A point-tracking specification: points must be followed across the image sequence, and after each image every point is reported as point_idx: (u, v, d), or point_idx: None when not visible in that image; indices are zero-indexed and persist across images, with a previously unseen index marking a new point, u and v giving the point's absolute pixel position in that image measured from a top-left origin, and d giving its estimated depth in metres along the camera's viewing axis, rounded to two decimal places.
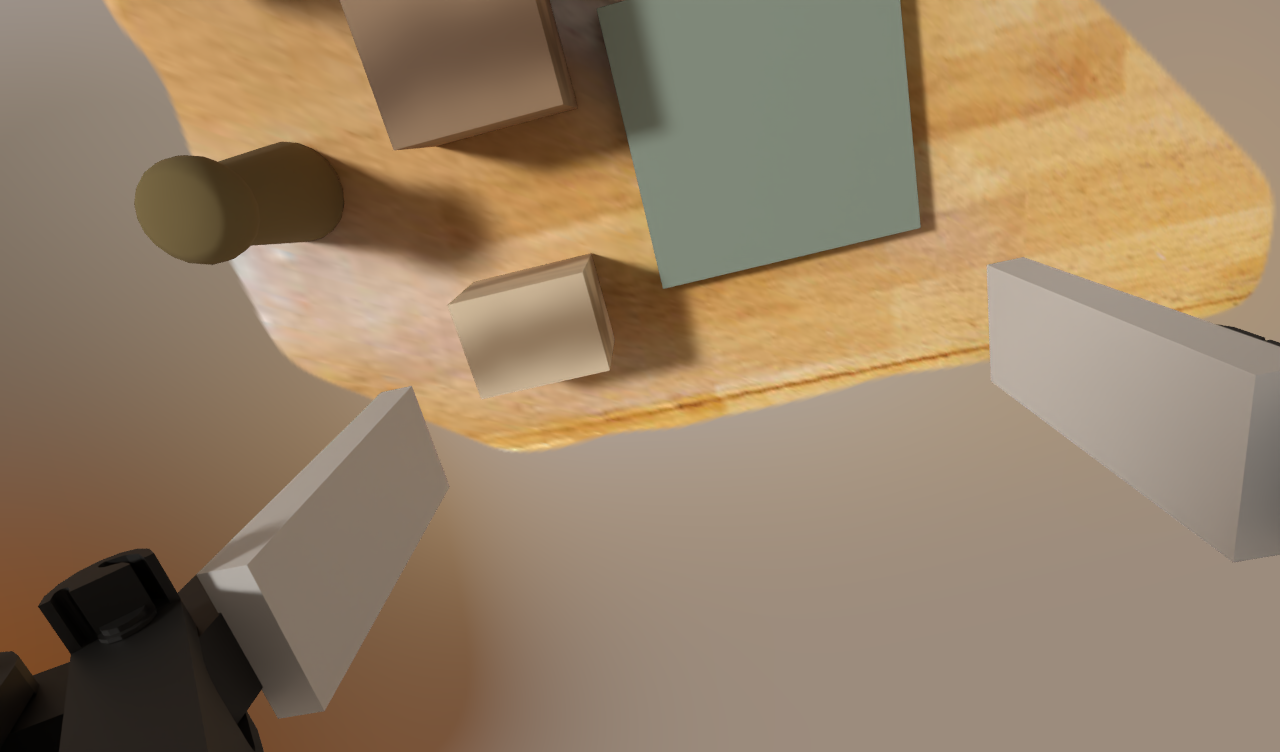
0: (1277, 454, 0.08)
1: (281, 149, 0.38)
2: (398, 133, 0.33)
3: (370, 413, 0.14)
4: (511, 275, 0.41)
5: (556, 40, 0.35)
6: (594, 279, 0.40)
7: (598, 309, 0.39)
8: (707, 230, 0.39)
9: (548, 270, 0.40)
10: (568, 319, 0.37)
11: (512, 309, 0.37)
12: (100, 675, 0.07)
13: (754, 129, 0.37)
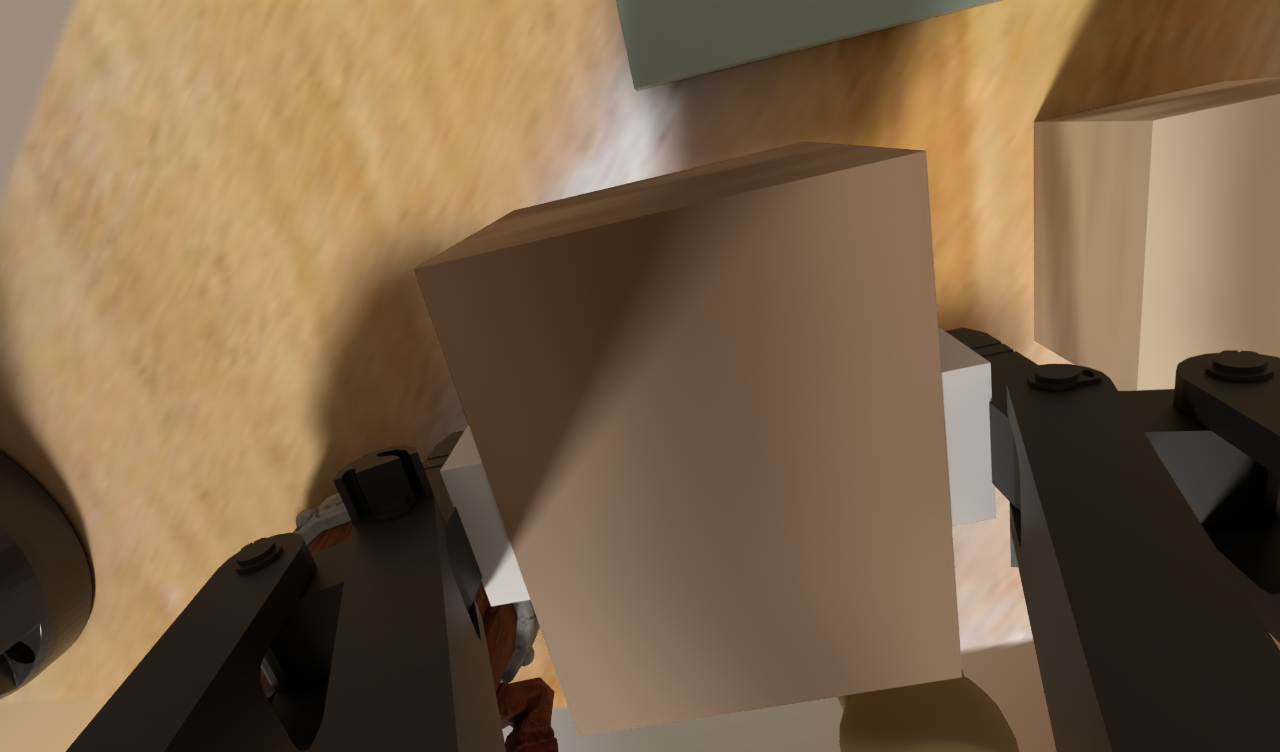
0: (968, 437, 0.10)
1: None
2: (919, 660, 0.11)
3: None
4: (1050, 275, 0.23)
5: (659, 183, 0.13)
6: (1110, 111, 0.20)
7: (1205, 98, 0.18)
8: None
9: (1075, 203, 0.21)
10: (1248, 160, 0.17)
11: (1185, 280, 0.18)
12: (372, 547, 0.09)
13: None
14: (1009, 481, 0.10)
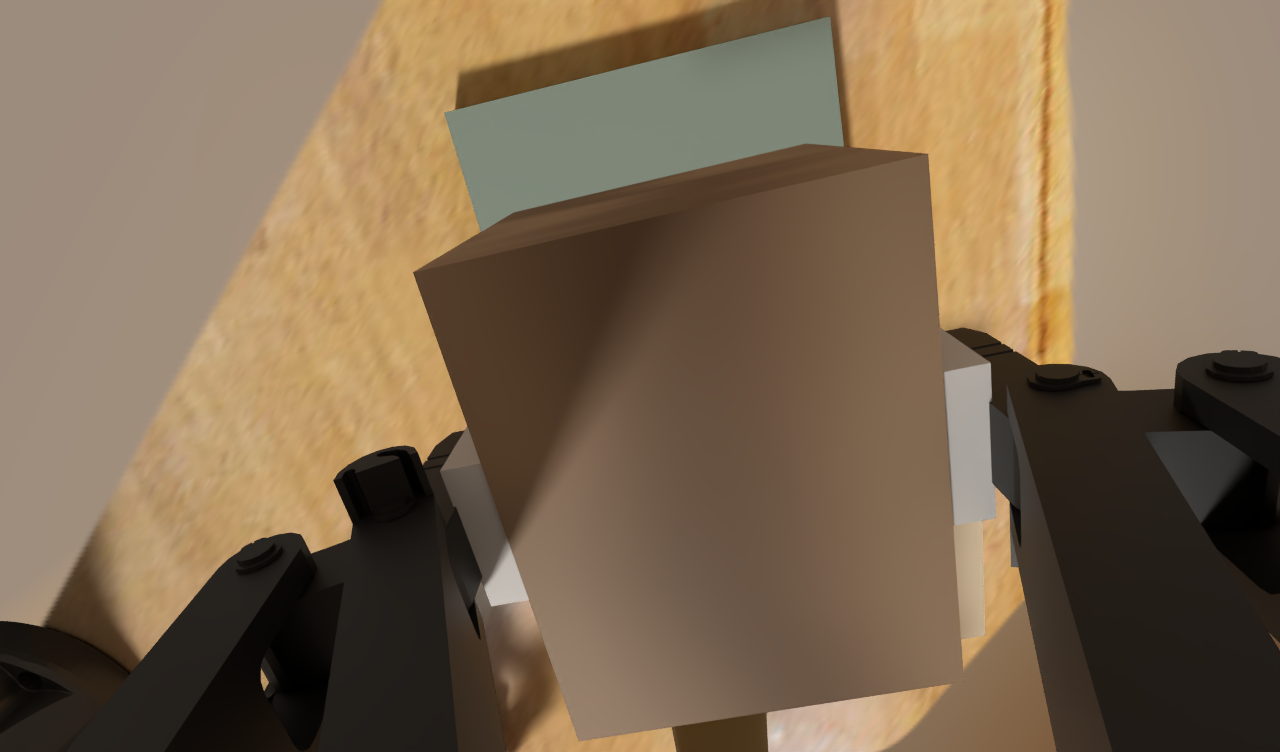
0: (969, 437, 0.10)
1: (678, 734, 0.38)
2: (921, 665, 0.11)
3: None
4: None
5: (660, 185, 0.13)
6: None
7: None
8: None
9: None
10: None
11: None
12: (372, 548, 0.09)
13: None
14: (1009, 481, 0.09)
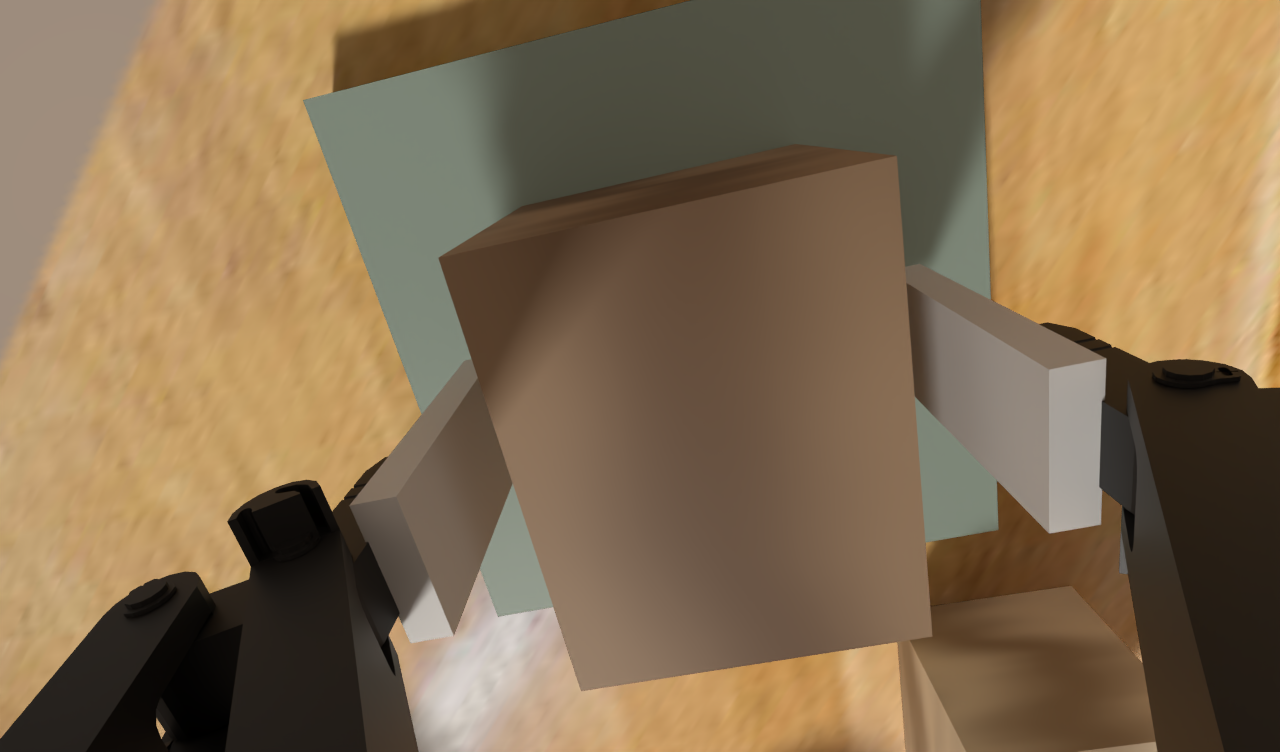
0: (1076, 438, 0.09)
1: None
2: (893, 620, 0.12)
3: (462, 377, 0.15)
4: (914, 744, 0.24)
5: (659, 182, 0.14)
6: (957, 646, 0.21)
7: (1035, 685, 0.19)
8: None
9: (927, 725, 0.21)
10: None
11: None
12: (272, 589, 0.08)
13: None
14: (1123, 482, 0.09)
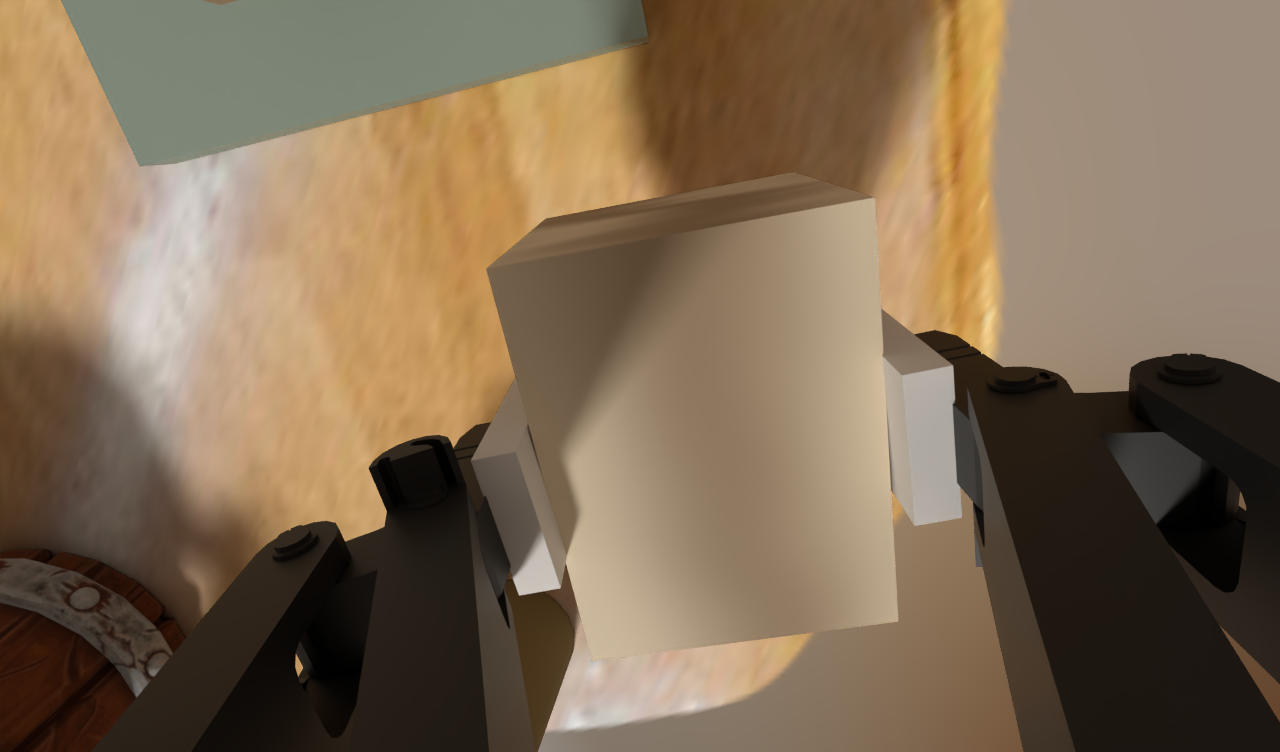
0: (933, 438, 0.10)
1: None
2: None
3: None
4: None
5: None
6: (591, 219, 0.14)
7: (660, 217, 0.12)
8: None
9: None
10: (655, 333, 0.10)
11: (612, 502, 0.12)
12: (405, 535, 0.09)
13: None
14: (972, 482, 0.10)
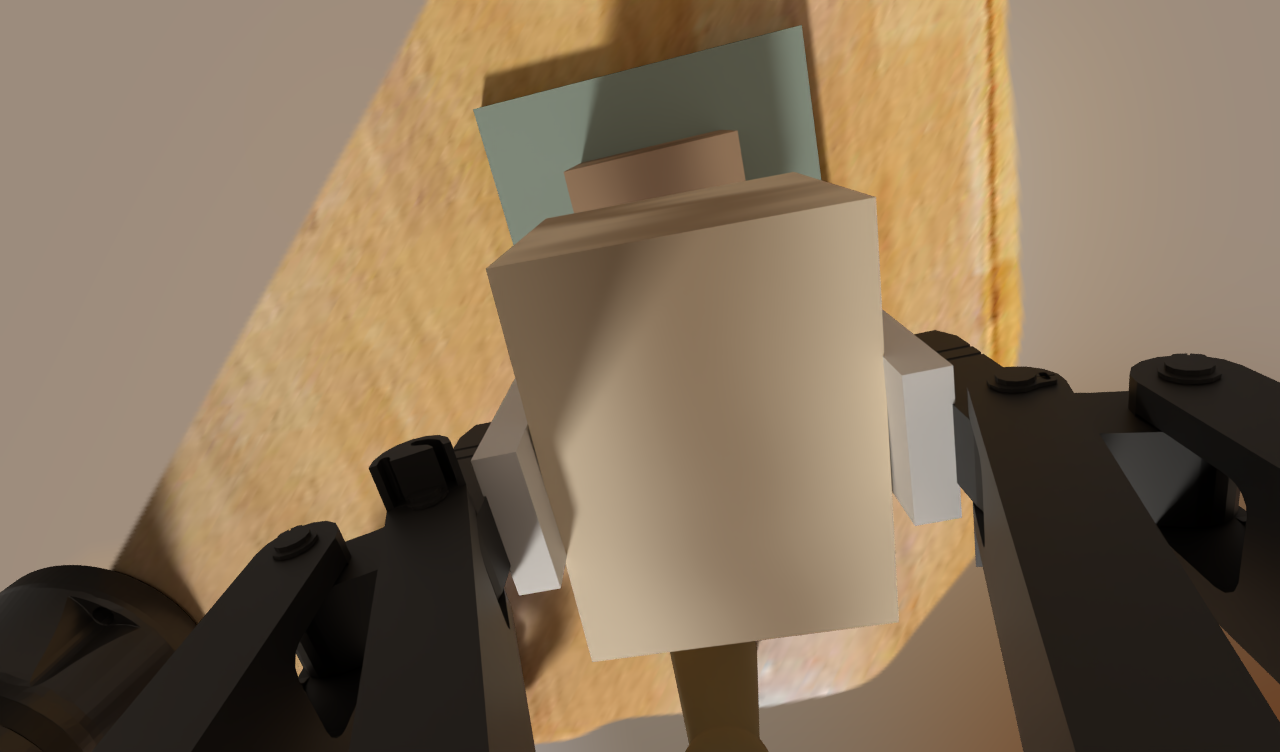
0: (933, 438, 0.10)
1: (677, 664, 0.43)
2: None
3: None
4: None
5: (650, 147, 0.30)
6: (591, 219, 0.14)
7: (660, 217, 0.12)
8: None
9: None
10: (655, 333, 0.10)
11: (611, 503, 0.12)
12: (405, 535, 0.09)
13: None
14: (972, 482, 0.10)
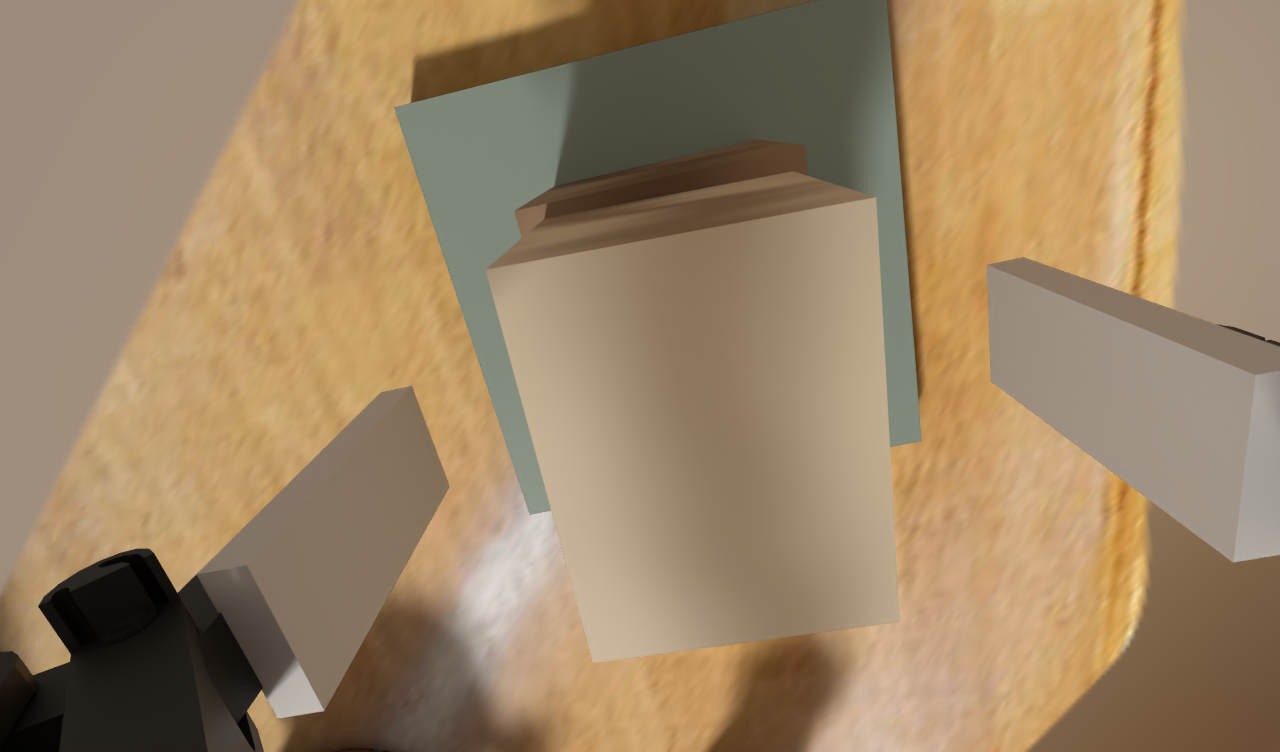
0: (1278, 454, 0.08)
1: None
2: None
3: (370, 413, 0.14)
4: None
5: (656, 166, 0.20)
6: (590, 219, 0.14)
7: (660, 217, 0.12)
8: None
9: None
10: (656, 334, 0.10)
11: (612, 503, 0.12)
12: (100, 675, 0.07)
13: None
14: None
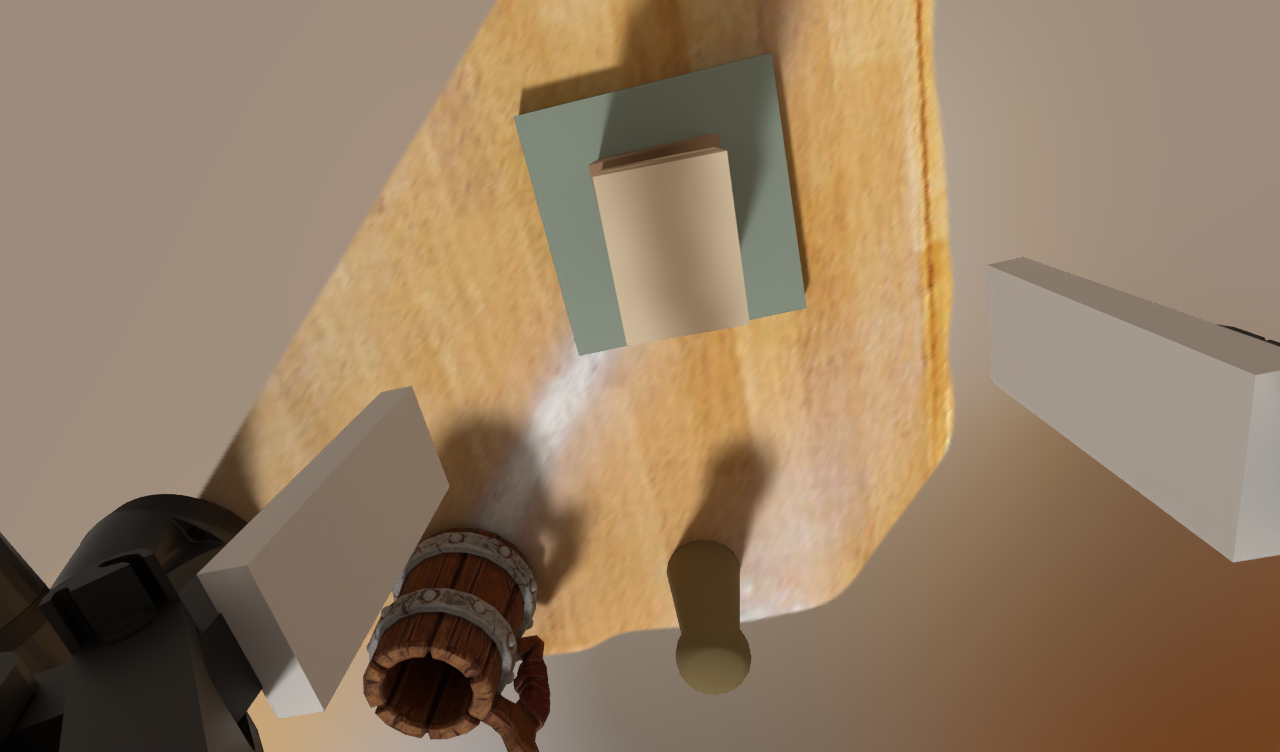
0: (1277, 454, 0.08)
1: (672, 579, 0.52)
2: None
3: (370, 413, 0.14)
4: None
5: (653, 147, 0.38)
6: (625, 166, 0.32)
7: (654, 162, 0.30)
8: (756, 268, 0.43)
9: None
10: (652, 201, 0.29)
11: (635, 271, 0.30)
12: (100, 675, 0.07)
13: None
14: None
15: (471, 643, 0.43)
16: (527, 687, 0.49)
